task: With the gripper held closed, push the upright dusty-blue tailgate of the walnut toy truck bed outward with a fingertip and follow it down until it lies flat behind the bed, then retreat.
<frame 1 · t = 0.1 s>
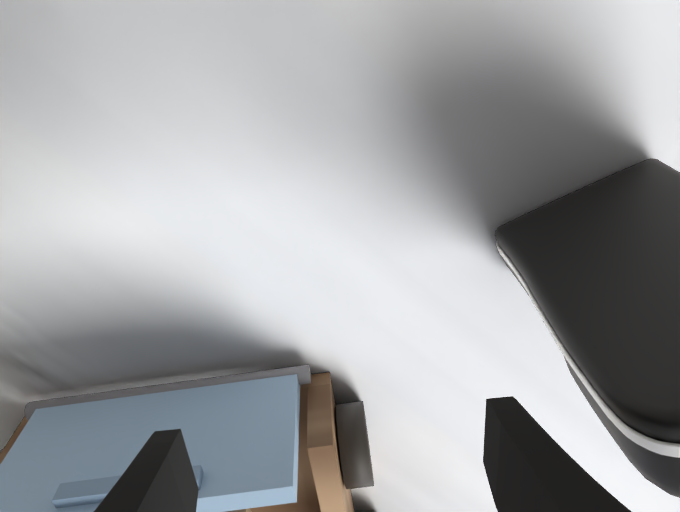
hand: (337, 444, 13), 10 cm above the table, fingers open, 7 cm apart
truck bed: (212, 492, 28), on the table
tailgate: (151, 439, 21), point 4 cm above the table, hinge at 0.0°
battery charger: (578, 227, 22), on the table
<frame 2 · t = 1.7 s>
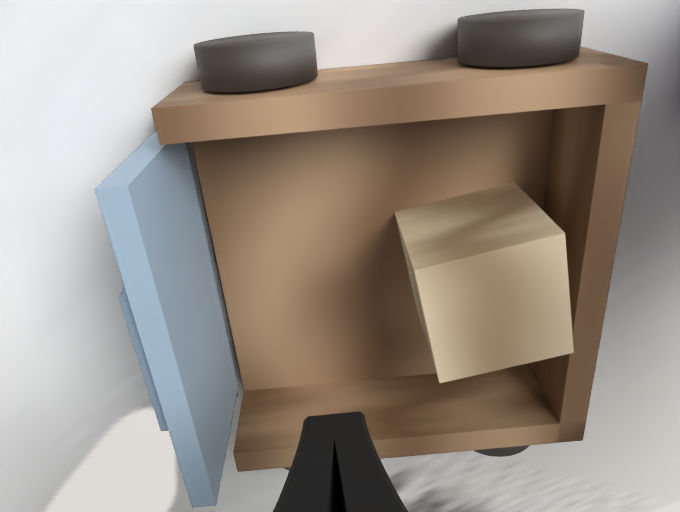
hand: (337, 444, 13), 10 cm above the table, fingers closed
truck bed: (389, 246, 22), on the table
tailgate: (182, 313, 18), point 4 cm above the table, hinge at 0.0°
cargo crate: (462, 249, 21), point 1 cm above the table, touching truck bed
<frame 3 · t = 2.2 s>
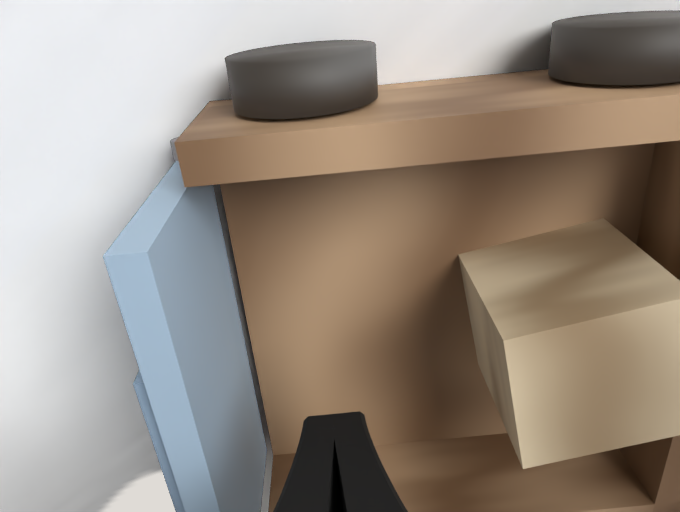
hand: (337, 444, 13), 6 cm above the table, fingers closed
truck bed: (447, 291, 18), on the table
tailgate: (207, 383, 15), point 4 cm above the table, hinge at 0.0°
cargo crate: (536, 296, 18), point 1 cm above the table, touching truck bed
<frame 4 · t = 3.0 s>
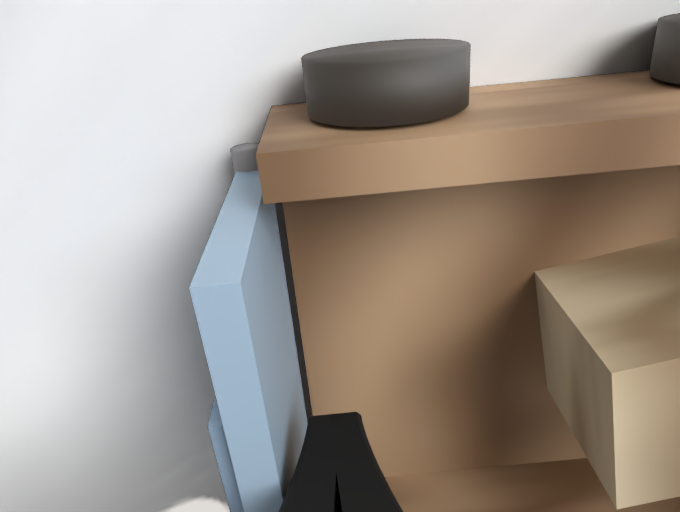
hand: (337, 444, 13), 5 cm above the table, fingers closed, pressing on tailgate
truck bed: (515, 310, 17), on the table
tailgate: (269, 414, 14), point 4 cm above the table, hinge at 0.0°, touching gripper
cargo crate: (615, 316, 16), point 1 cm above the table, touching truck bed
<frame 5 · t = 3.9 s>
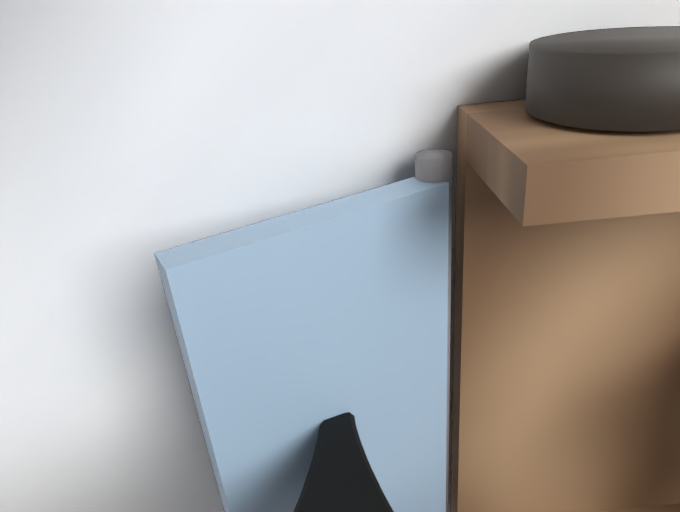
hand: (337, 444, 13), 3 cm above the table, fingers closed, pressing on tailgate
tailgate: (342, 423, 13), point 2 cm above the table, hinge at 62.4°, touching gripper
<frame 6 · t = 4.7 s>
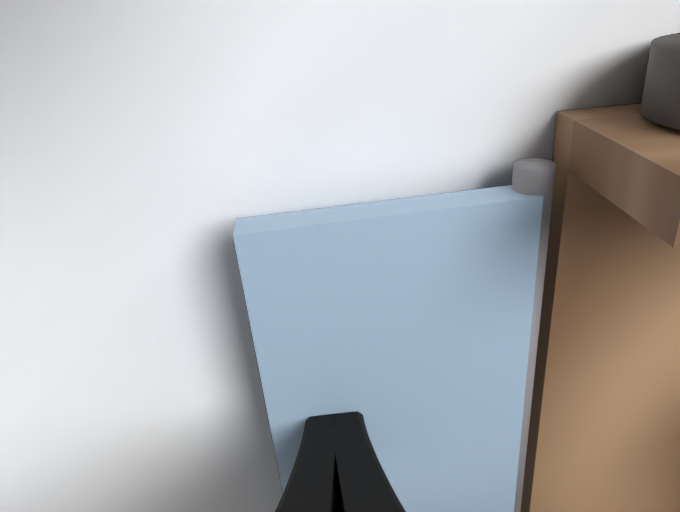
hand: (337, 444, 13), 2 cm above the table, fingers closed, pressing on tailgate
tailgate: (403, 416, 13), point 1 cm above the table, hinge at 86.1°, touching gripper
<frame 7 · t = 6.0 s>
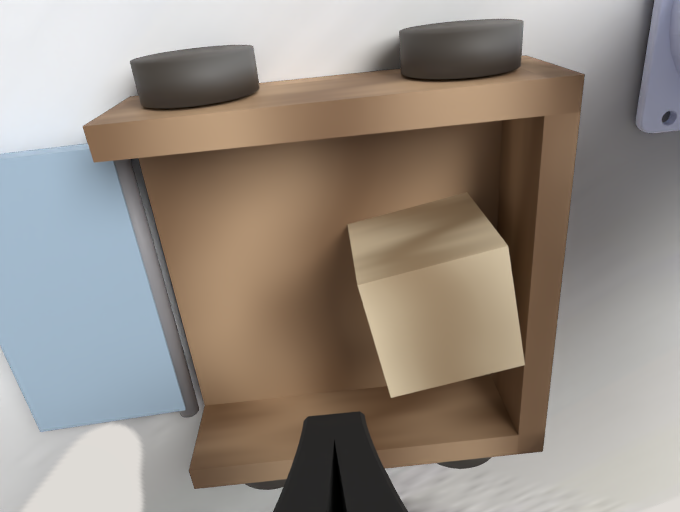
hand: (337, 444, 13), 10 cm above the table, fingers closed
truck bed: (346, 258, 21), on the table
tailgate: (81, 297, 21), point 1 cm above the table, hinge at 86.3°
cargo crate: (418, 260, 21), point 1 cm above the table, touching truck bed
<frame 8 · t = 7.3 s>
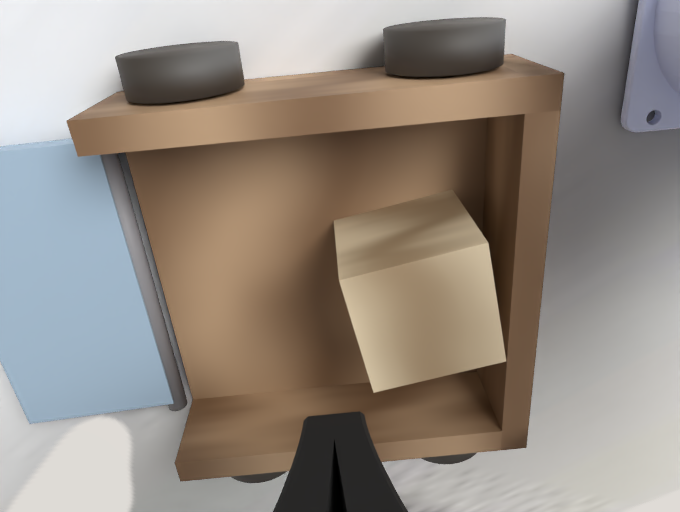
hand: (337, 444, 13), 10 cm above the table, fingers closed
truck bed: (333, 254, 22), on the table
tailgate: (69, 290, 21), point 1 cm above the table, hinge at 86.3°
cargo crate: (404, 257, 21), point 1 cm above the table, touching truck bed
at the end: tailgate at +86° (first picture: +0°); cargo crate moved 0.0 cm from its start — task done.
